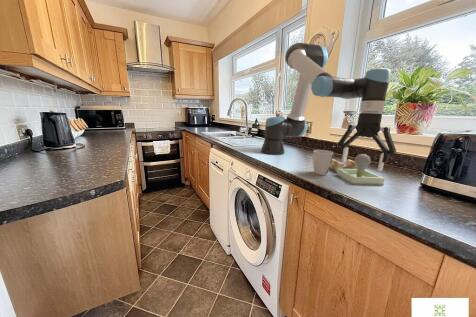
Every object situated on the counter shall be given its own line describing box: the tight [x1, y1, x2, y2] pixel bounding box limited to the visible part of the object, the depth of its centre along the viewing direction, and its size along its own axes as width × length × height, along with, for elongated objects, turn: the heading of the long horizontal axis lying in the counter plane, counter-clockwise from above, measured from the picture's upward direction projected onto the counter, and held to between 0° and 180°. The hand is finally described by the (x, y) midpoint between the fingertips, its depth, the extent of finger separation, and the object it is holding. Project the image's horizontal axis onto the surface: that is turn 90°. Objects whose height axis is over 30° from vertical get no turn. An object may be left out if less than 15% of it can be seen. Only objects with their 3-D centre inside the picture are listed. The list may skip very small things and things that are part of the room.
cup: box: [312, 149, 335, 176], centre depth 86 cm, size 8×8×10 cm
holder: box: [330, 158, 357, 173], centre depth 92 cm, size 9×9×4 cm
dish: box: [336, 169, 386, 186], centre depth 80 cm, size 12×12×3 cm
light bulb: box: [354, 153, 372, 177], centre depth 79 cm, size 6×6×10 cm
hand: (360, 166), depth 79 cm, fingers open, 13 cm apart
